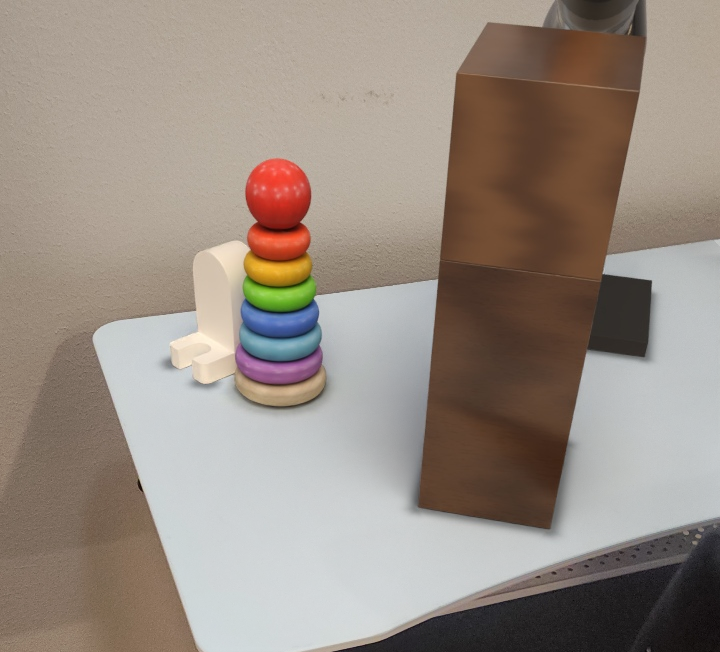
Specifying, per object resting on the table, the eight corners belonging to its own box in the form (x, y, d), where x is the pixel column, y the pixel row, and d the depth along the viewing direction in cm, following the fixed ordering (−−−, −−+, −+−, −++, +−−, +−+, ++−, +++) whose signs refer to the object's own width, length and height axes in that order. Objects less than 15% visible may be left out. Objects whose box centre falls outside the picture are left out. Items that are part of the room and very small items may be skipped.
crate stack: (564, 443, 82) (646, 36, 62) (550, 529, 74) (640, 91, 53) (445, 425, 84) (487, 21, 63) (417, 507, 75) (456, 72, 55)
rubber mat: (648, 294, 103) (652, 280, 102) (644, 357, 93) (648, 342, 92) (552, 281, 105) (554, 267, 104) (538, 342, 95) (540, 327, 94)
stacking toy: (332, 408, 85) (335, 180, 72) (238, 413, 84) (224, 183, 71) (319, 362, 91) (320, 143, 78) (231, 367, 90) (217, 145, 77)
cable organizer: (290, 349, 92) (288, 242, 85) (204, 385, 87) (195, 274, 80) (254, 329, 95) (249, 223, 88) (168, 362, 90) (156, 253, 83)
